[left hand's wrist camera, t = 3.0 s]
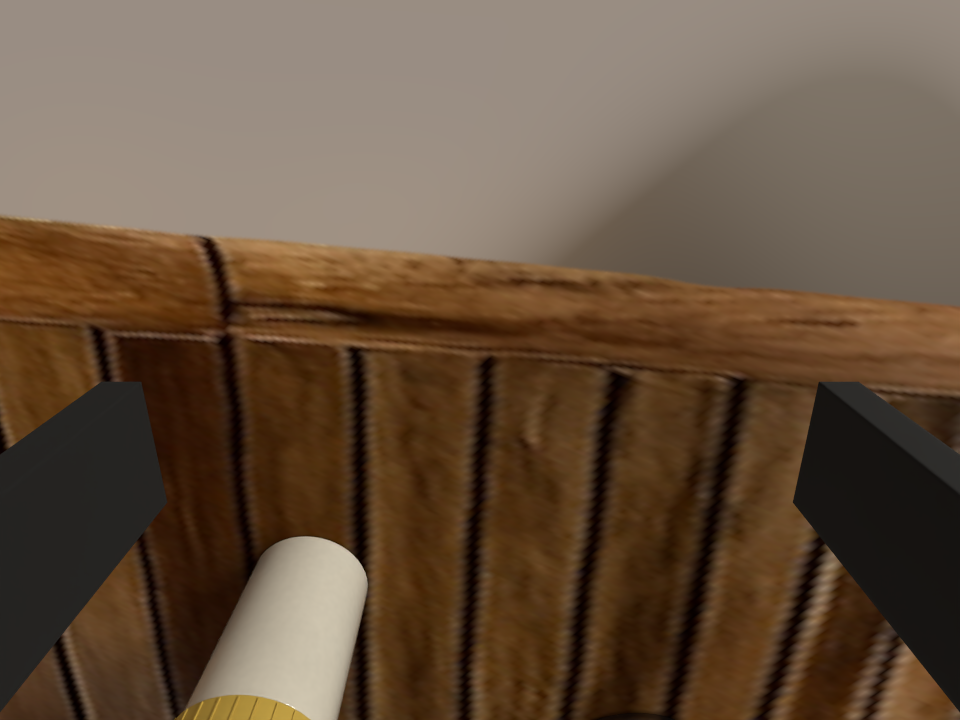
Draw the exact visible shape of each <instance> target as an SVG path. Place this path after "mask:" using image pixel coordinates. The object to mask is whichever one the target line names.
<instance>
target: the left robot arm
mask: <svg viewBox="0 0 960 720" xmlns="http://www.w3.org/2000/svg"><path fill="white" fill-rule="evenodd" d="M166 503H167V500H166V495H165V490H164V486H163V481H162V477H161V472H160V467H159V463H158V458H157V453H156V449H155V444H154V440H153V435H152V430H151V426H150V421H149V416H148V412H147V407H146V403H145V398H144V393H143V389H142V384H141V382H101V383H99V384H98V385H96V386H95V387H94V388H92V389H91V390H90V391H88V392H87V393H85V394H84V395H83V396H81V397H80V398H78V399H77V400H76V401H74V402H73V403H71V404H70V405H69V406H67V407H66V408H65V409H63V410H62V411H60V412H59V413H58V414H56V415H55V416H53V417H52V418H51V419H49V420H48V421H46V422H45V423H44V424H42V425H41V426H40V427H38V428H37V429H35V430H34V431H33V432H31V433H30V434H28V435H27V436H26V437H24V438H23V439H21V440H20V441H19V442H17V443H16V444H15V445H13V446H12V447H10V448H9V449H8V450H6V451H5V452H3V453H2V454H1V455H0V712H1V710H2V709H3V708H4V707H5V705H6V704H7V703H8V702H9V700H10V699H11V698H12V697H13V695H14V694H15V693H16V692H17V690H18V689H19V688H20V686H21V685H22V684H23V683H24V681H25V680H26V679H27V678H28V676H29V675H30V674H31V673H32V671H33V670H34V669H35V668H36V666H37V665H38V664H39V663H40V661H41V660H42V659H43V658H44V656H45V655H46V654H47V653H48V651H49V650H50V649H51V648H52V646H53V645H54V644H55V643H56V641H57V640H58V639H59V638H60V636H61V635H62V634H63V633H64V631H65V630H66V629H67V627H68V626H69V625H70V624H71V622H72V621H73V620H74V619H75V617H76V616H77V615H78V614H79V612H80V611H81V610H82V609H83V607H84V606H85V605H86V604H87V602H88V601H89V600H90V599H91V597H92V596H93V595H94V594H95V592H96V591H97V590H98V589H99V587H100V586H101V585H102V584H103V582H104V581H105V580H106V579H107V577H108V576H109V575H110V573H111V572H112V571H113V570H114V568H115V567H116V566H117V565H118V563H119V562H120V561H121V560H122V558H123V557H124V556H125V555H126V553H127V552H128V551H129V550H130V548H131V547H132V546H133V545H134V543H135V542H136V541H137V540H138V538H139V537H140V536H141V535H142V533H143V532H144V531H145V530H146V528H147V527H148V526H149V525H150V523H151V522H152V521H153V519H154V518H155V517H156V516H157V514H158V513H159V512H160V511H161V509H162V508H163V507H164V506H165V504H166ZM793 503H794V504H795V506H796V507H797V508H798V509H799V511H800V512H801V513H802V514H803V516H804V517H805V518H806V519H807V521H808V522H809V523H810V525H811V526H812V527H813V528H814V530H815V531H816V532H817V533H818V535H819V536H820V537H821V538H822V540H823V541H824V542H825V543H826V545H827V546H828V547H829V548H830V550H831V551H832V552H833V553H834V555H835V556H836V557H837V558H838V560H839V561H840V562H841V563H842V565H843V566H844V567H845V568H846V570H847V571H848V572H849V573H850V575H851V576H852V577H853V579H854V580H855V581H856V582H857V584H858V585H859V586H860V587H861V589H862V590H863V591H864V592H865V594H866V595H867V596H868V597H869V599H870V600H871V601H872V602H873V604H874V605H875V606H876V607H877V609H878V610H879V611H880V612H881V614H882V615H883V616H884V617H885V619H886V620H887V621H888V622H889V624H890V625H891V626H892V627H893V629H894V630H895V631H896V633H897V634H898V635H899V636H900V638H901V639H902V640H903V641H904V643H905V644H906V645H907V646H908V648H909V649H910V650H911V651H912V653H913V654H914V655H915V656H916V658H917V659H918V660H919V661H920V663H921V664H922V665H923V666H924V668H925V669H926V670H927V671H928V673H929V674H930V675H931V676H932V678H933V679H934V680H935V681H936V683H937V684H938V685H939V686H940V688H941V689H942V690H943V692H944V693H945V694H946V695H947V697H948V698H949V699H950V700H951V702H952V703H953V704H954V705H955V707H956V708H957V709H958V710H959V712H960V455H959V454H958V453H957V452H955V451H954V450H952V449H951V448H950V447H948V446H947V445H945V444H944V443H943V442H941V441H940V440H939V439H937V438H936V437H934V436H933V435H932V434H930V433H929V432H927V431H926V430H925V429H923V428H922V427H920V426H919V425H918V424H916V423H915V422H914V421H912V420H911V419H909V418H908V417H907V416H905V415H904V414H902V413H901V412H900V411H898V410H897V409H895V408H894V407H893V406H891V405H890V404H889V403H887V402H886V401H884V400H883V399H882V398H880V397H879V396H877V395H876V394H875V393H873V392H872V391H870V390H869V389H868V388H866V387H865V386H864V385H862V384H861V383H859V382H819V384H818V389H817V393H816V398H815V403H814V407H813V412H812V416H811V421H810V426H809V430H808V435H807V440H806V444H805V449H804V453H803V458H802V463H801V467H800V472H799V477H798V481H797V486H796V490H795V495H794V500H793ZM598 720H674V719H671V718H668V717H664V716H660V715H654V714H645V713H628V714H619V715H613V716H608V717H604V718H601V719H598Z"/></svg>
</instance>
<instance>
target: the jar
mask: <svg viewBox="0 0 960 720" xmlns="http://www.w3.org/2000/svg"><path fill="white" fill-rule="evenodd" d="M367 590H368V583H367V577H366V574H365V571H364V569H363V567H362V565H361V564H360V562H359V561H358V560H357V558H356V557H355V556H354V555H353V554H352V553H350V552H349V551H348V550H347V549H345V548H344V547H342V546H340V545H338V544H337V543H334V542H332V541H329V540H326V539H323V538H318V537H309V536H302V537H293V538H289V539H285V540H282V541H280V542H278V543H276V544H274V545H272V546H271V547H270V548H268V549H267V550H266V551H265V552H264V553H263V554H262V555H261V557H260V558H259V560H258V561H257V563H256V565H255V567H254V570H253V572H252V574H251V576H250V578H249V580H248V582H247V584H246V586H245V588H244V590H243V592H242V594H241V596H240V598H239V600H238V602H237V604H236V606H235V608H234V610H233V612H232V614H231V616H230V618H229V620H228V622H227V624H226V626H225V628H224V630H223V632H222V635H221V637H220V639H219V641H218V643H217V645H216V647H215V649H214V651H213V653H212V655H211V657H210V659H209V661H208V663H207V665H206V667H205V669H204V671H203V673H202V675H201V677H200V679H199V681H198V683H197V685H196V687H195V689H194V691H193V693H192V695H191V697H190V700H189V702H188V704H187V706H186V708H185V710H186V709H187V708H189V707H191V706H193V705H194V704H196V703H198V702H201V701H204V700H206V699H210V698H214V697H218V696H225V695H252V696H258V697H264V698H268V699H272V700H275V701H278V702H281V703H283V704H286V705H288V706H290V707H292V708H294V709H296V710H297V711H299V712H301V713H302V714H304V715H305V716H307V717H308V718H309V719H310V720H338V716H339V712H340V707H341V703H342V699H343V695H344V690H345V686H346V682H347V677H348V673H349V669H350V665H351V660H352V656H353V652H354V647H355V643H356V639H357V635H358V630H359V626H360V622H361V617H362V613H363V609H364V605H365V600H366V596H367ZM185 710H184V711H185Z"/></svg>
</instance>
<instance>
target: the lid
mask: <svg viewBox="0 0 960 720" xmlns="http://www.w3.org/2000/svg"><path fill="white" fill-rule="evenodd" d="M174 720H310V719H309V718H308V717H307V716H305V715H304V714H302V713H301V712H299V711H297V710H296V709H294V708H292V707H290V706H288V705H286V704H283V703H281V702H278V701H275V700H272V699H268V698H264V697H258V696H252V695H225V696H218V697H214V698H210V699H206V700H204V701H201V702H198V703H196V704H194V705H193V706H191V707H189V708H187V709H186V710H185V711H184V712H182V713H181V714H180V715H179V716H178V717H177V718H175V719H174Z"/></svg>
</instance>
